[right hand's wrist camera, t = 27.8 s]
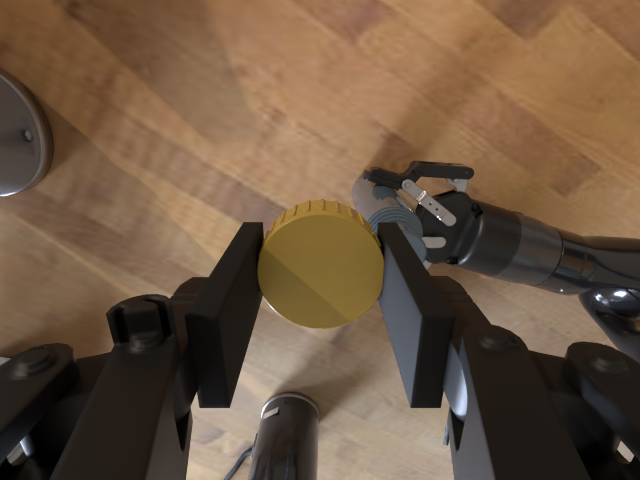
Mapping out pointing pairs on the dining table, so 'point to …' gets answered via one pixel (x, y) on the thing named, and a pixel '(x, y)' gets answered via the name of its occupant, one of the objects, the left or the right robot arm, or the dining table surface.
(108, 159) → the dining table surface
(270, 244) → the cap
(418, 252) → the bottle
